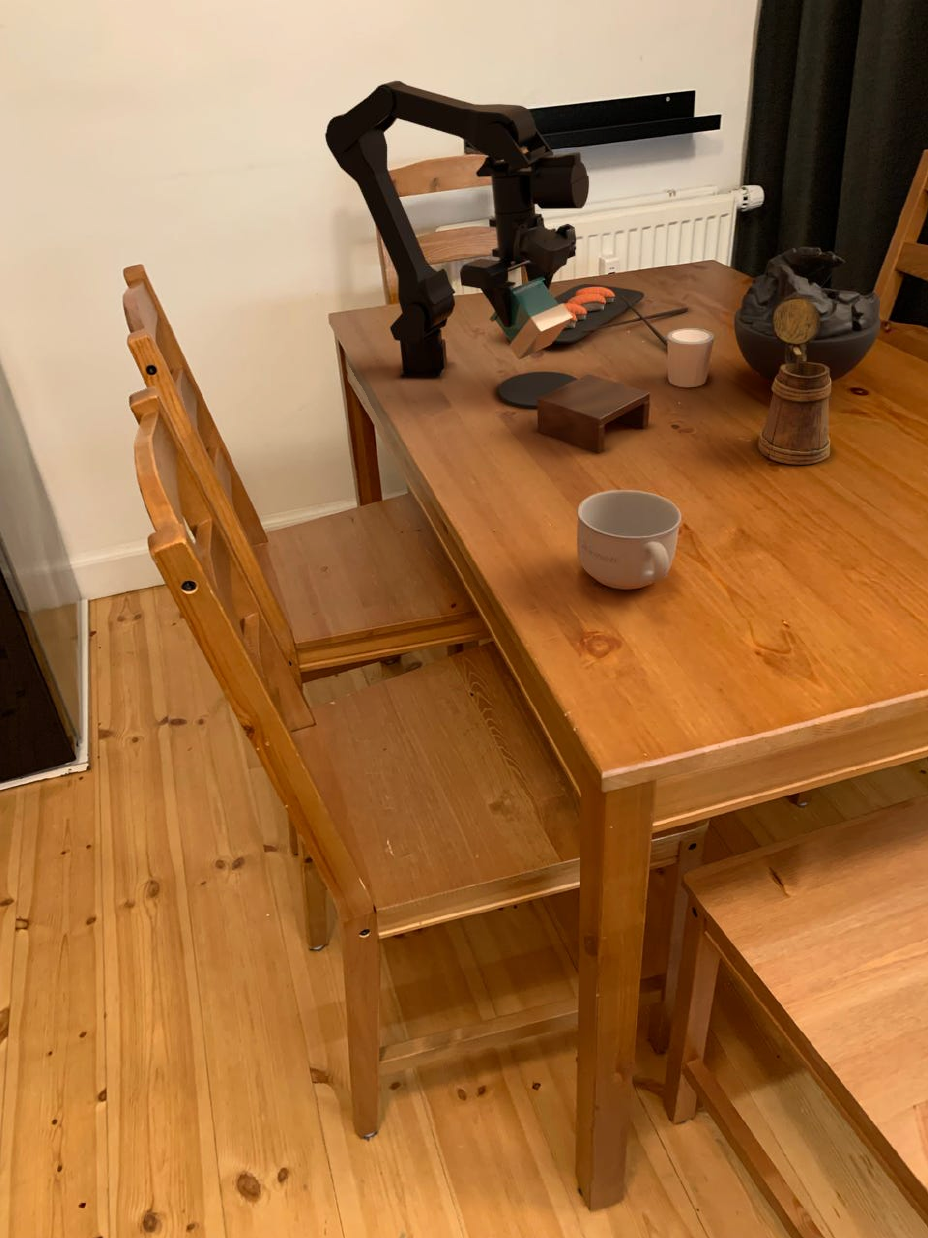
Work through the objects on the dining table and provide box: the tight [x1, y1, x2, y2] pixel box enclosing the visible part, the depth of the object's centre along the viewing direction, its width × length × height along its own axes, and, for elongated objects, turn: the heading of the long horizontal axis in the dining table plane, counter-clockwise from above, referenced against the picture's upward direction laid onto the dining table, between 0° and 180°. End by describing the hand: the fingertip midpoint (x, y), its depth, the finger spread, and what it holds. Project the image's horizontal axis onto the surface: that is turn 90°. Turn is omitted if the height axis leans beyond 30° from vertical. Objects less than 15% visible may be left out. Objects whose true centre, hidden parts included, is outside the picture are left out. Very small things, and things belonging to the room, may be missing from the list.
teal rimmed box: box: [489, 276, 573, 360], centre depth 141 cm, size 8×7×7 cm
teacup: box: [576, 489, 683, 590], centre depth 101 cm, size 14×11×8 cm
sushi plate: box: [551, 283, 689, 349], centre depth 166 cm, size 29×30×4 cm
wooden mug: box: [757, 292, 832, 465], centre depth 123 cm, size 9×14×18 cm, turn 178°
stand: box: [536, 373, 651, 454], centre depth 134 cm, size 11×11×5 cm
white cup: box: [666, 327, 715, 388], centre depth 145 cm, size 7×7×7 cm
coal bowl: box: [733, 246, 882, 384], centre depth 138 cm, size 20×20×19 cm
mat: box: [497, 371, 578, 410], centre depth 146 cm, size 13×13×1 cm
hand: (523, 320), depth 142 cm, fingers closed on teal rimmed box, 7 cm apart
